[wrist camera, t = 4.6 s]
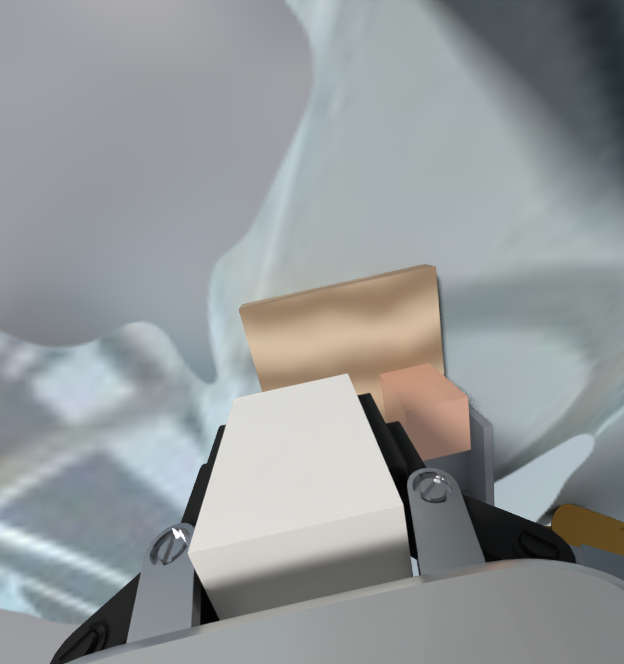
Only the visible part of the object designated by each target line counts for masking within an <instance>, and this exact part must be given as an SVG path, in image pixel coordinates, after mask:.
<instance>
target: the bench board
mask: <svg viewBox="0 0 624 664" xmlns="http://www.w3.org/2000/svg"><path fill="white" fill-rule="evenodd" d="M239 312H240V315H241V319H242V322H243V326H244V329H245V333H246V336H247V340H248V343H249V347H250V350H251V354H252V357H253V361H254V364H255V368H256V371H257V375H258V378H259V382H260V385H261V389H262V392H266V391H270V390H275V389H279V388H284V387H288V386H293V385H297V384H302V383H306V382H311V381H316V380H320V379H325V378H329V377H334V376H338V375H343V374H347V373H348V375H349V377H350V380H351V382H352V384H353V387H354V389H355V392H356V394H357V395H361V394H366V393H371V395H372V397H373V399H374V401H375V403H376V405H377V407H378V409H379V411H380V413H381V415H382V417H383V419H384V421H385V423H389V422H388V420H387V419H386V414H385V407H384V400H383V394H382V387H381V381H380V374H383V373H388V372H392V371H397V370H401V369H406V368H410V367H414V366H419V365H423V364H428V363H430V364H431V365H432V366H433V367H434V368H436V369H437V370H438V371H439V372H440V373H441V374H442V375H444V365H443V352H442V339H441V326H440V314H439V301H438V288H437V276H436V266H431V265H426V264H424V265H420V266H415V267H411V268H406V269H401V270H397V271H392V272H388V273H383V274H379V275H374V276H370V277H365V278H361V279H356V280H351V281H347V282H342V283H338V284H333V285H329V286H324V287H320V288H315V289H311V290H306V291H301V292H297V293H292V294H288V295H283V296H279V297H274V298H270V299H265V300H260V301H256V302H251V303H247V304H242V306H241V307H240V309H239Z"/></svg>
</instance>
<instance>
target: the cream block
mask: <svg viewBox="0 0 624 664" xmlns="http://www.w3.org/2000/svg"><path fill="white" fill-rule="evenodd" d="M187 554H188V556H189V558H190V560H191V562H192V564H193V566H194V568H195V570H196V572H197V574H198V576H199V578H200V580H201V582H202V585H203V587H204V589H205V591H206V593H207V595H208V597H209V599H210V601H211V603H212V605H213V607H214V609H215V611H216V613H217V615H218V617H219V620H220V621H221V620H225V619H230V618H234V617H238V616H242V615H247V614H251V613H255V612H260V611H264V610H268V609H273V608H277V607H282V606H286V605H290V604H295V603H299V602H303V601H308V600H312V599H317V598H321V597H325V596H330V595H334V594H339V593H343V592H347V591H352V590H356V589H361V588H365V587H370V586H375V585H379V584H384V583H388V582H393V581H397V580H402V579H406V578H411V577H413V572H412V565H411V558H410V550H409V543H408V535H407V528H406V521H405V513H404V506H403V503H402V501H401V498H400V496H399V493H398V491H397V489H396V486H395V484H394V482H393V479H392V477H391V474H390V472H389V470H388V467H387V465H386V463H385V460H384V458H383V456H382V453H381V451H380V448H379V446H378V444H377V441H376V439H375V437H374V434H373V432H372V429H371V427H370V425H369V422H368V420H367V418H366V415H365V413H364V411H363V408H362V406H361V403H360V401H359V399H358V396H357V394H356V392H355V389H354V387H353V384H352V382H351V380H350V377H349V375H348V373H347V374H343V375H338V376H334V377H329V378H325V379H320V380H316V381H311V382H306V383H302V384H297V385H293V386H288V387H284V388H279V389H275V390H270V391H266V392H261V393H257V394H252V395H248V396H243V397H238V398H234V400H233V404H232V407H231V410H230V414H229V417H228V420H227V424H226V427H225V430H224V434H223V437H222V440H221V444H220V447H219V450H218V454H217V457H216V460H215V464H214V467H213V470H212V474H211V477H210V480H209V484H208V487H207V490H206V494H205V497H204V500H203V504H202V507H201V510H200V513H199V517H198V520H197V523H196V527H195V530H194V533H193V537H192V540H191V543H190V547H189V550H188V553H187Z"/></svg>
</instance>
